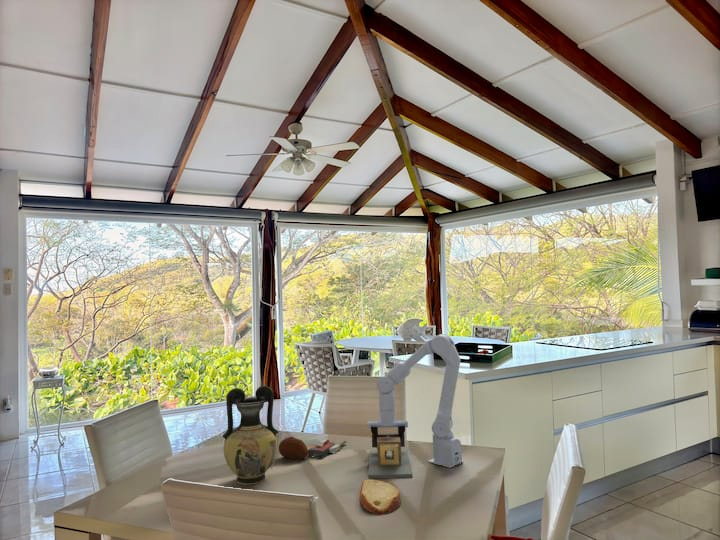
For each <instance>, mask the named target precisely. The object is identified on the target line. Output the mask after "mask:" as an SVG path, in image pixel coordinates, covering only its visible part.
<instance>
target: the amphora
mask: <svg viewBox="0 0 720 540" xmlns="http://www.w3.org/2000/svg"><path fill="white" fill-rule="evenodd" d="M225 401H226V402H225V403H226V414H227V415H226V417H227V430H226V431H225V432H224V434H223V435H222V438H223V439H224V440H223V441H224V442H223V455H224V459H225V463H226V464H227V466H228V468H229V470H231V472H232V473H233V474H235V475H236V476H237V477H236V482H237V483H238V484H240V485H247V486H248V485H249V486H250V485H257V484H260V483H262V482H264V481H266V472H267V471H268V470H269V469H270V467H271V466H272V464H273V463H274V460H275V458H276V455H277V454H276V453H277V449H278V438H277V434H279V431H278V429H276V428H275V427H274V425H273V412H274V402H275V399H274V391H273V390H272V388H271V387H269V386H268V385H260V386H259V387H258V388H257V389H255V396H246V393H245V391H244V390H243V389H242V388H239V387H234V388H232V389H231V390H229V392H228V393H226V400H225ZM265 403H267V411H266V425H265V424H263V423H262V422H261V418H260V417H261V416H260V415H261V414H260V412H261V411H262V409H263V408H264V406H265V405H264V404H265ZM233 405H235V406H236V409H237V411H238V412H239V413H240V422H239V425H238V426H236V427H235V428H234V416H233V413H234V412H233Z"/></svg>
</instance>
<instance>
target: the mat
mask: <svg viewBox="0 0 720 540" xmlns="http://www.w3.org/2000/svg"><path fill="white" fill-rule="evenodd" d="M408 452H409V451H408V449H401V465H381V466H378V455H377V450H369V461H368V462H369V464H368V479H385V478H386V479H390V478H391V479H392V478H398V479H399V478H413V472H412V468H411V467H412V465H411V461H410V457H409V453H408Z"/></svg>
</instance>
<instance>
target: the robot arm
mask: <svg viewBox="0 0 720 540" xmlns="http://www.w3.org/2000/svg"><path fill="white" fill-rule="evenodd" d="M433 354H437V355H438V356H440V357H441V358H442V360H443V361H444V363H445V369H444V375H443V380H442V386H441V392H440V397H439V398H440V399H439V403H438V409H437V413H436V417H435V419H434V421H433V423H432V424H431V432H432V450H433V452H432V453H433V458H432V459H429V460H428V461H427V462H428V463H431V464H435V465H438V466H441V465H442V467H445V468H453V467H456V466H458V465H460V464H462V463H461V462H463V463H464V460H463V455H462V453H463V452H462V443H461V441H460V439H458V438H456V437H455V436H454V433H453V432H452V427H453V419H452V413H453V406H454V401H455V400H454V399H455V394H456V389H457V382H458V377H459V376H458V375H459V373H460V365H461V357H460V355H459V352H458V350H457V347H456V346H455V341H453V340H452V338H451V337H450V336H449V335H447V334H445V333H440V334H438V335H436V336H434V337H433V338H432V339H430V340H428V341H427V342H425V343H424V344H422V345H420V347H419V348H418V349H416V350H415V352H413V353H412V354H411V355H410V356H409V357H408V358H407V359H406V360H405V361H401V360H400V361H399V362H397V361H396V362H395V363H393V366H392V368H390V369H389V370H388V371H385V372H384V375H383V376H380V378H379V379H378V380H377V381H376V382H377V383H376V388H377V390H378V405H379V406H378V410H379V412H378V413H379V420H375V421H367V429H370V431H371V432H370V433H371V435H372V434H373V436H374V439H375V442H376V445H377V437H378V434H379V428H380V429H381V428H397V433H398V437H400V441H401V440H402V437H403V434H404V435H405V432H406V428H408V427H409V421H408V420H399V419H397V420H396V404H395V402H396V400H395V388H396V386H397V385H399V384H401V382H402V381H404V380H405V379H406V378H407V377H408V376H409V375H410V374H411V368H412V367H414V366H415V365H416V364H417V363H419V362H420V361H421V360H422V359H423V358H425V357H426V356H427V355H433ZM459 463H460V464H459ZM457 464H458V465H457ZM455 465H456V466H455Z"/></svg>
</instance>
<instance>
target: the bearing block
mask: <svg viewBox="0 0 720 540" xmlns="http://www.w3.org/2000/svg"><path fill="white" fill-rule="evenodd" d="M392 444H398V456H399V464H384V465H401V450H402V449H401V448H402V447H401V441H400V437H377V447H376V451H377V455H378V466H381V458H380V445H392ZM392 455H393V456H392V458H394V450H392ZM385 458H387V456H386V451H385Z"/></svg>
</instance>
